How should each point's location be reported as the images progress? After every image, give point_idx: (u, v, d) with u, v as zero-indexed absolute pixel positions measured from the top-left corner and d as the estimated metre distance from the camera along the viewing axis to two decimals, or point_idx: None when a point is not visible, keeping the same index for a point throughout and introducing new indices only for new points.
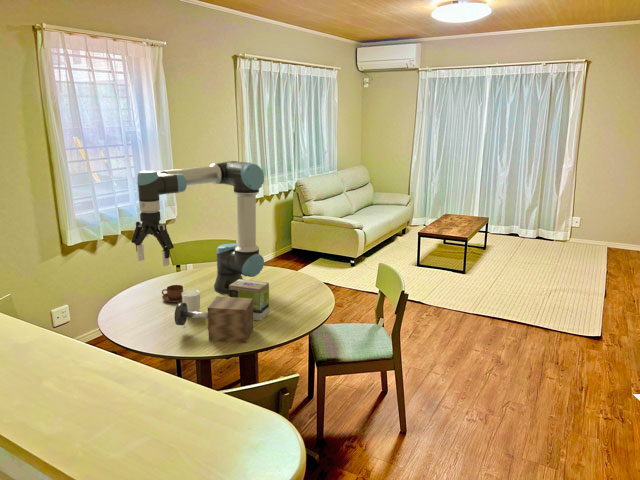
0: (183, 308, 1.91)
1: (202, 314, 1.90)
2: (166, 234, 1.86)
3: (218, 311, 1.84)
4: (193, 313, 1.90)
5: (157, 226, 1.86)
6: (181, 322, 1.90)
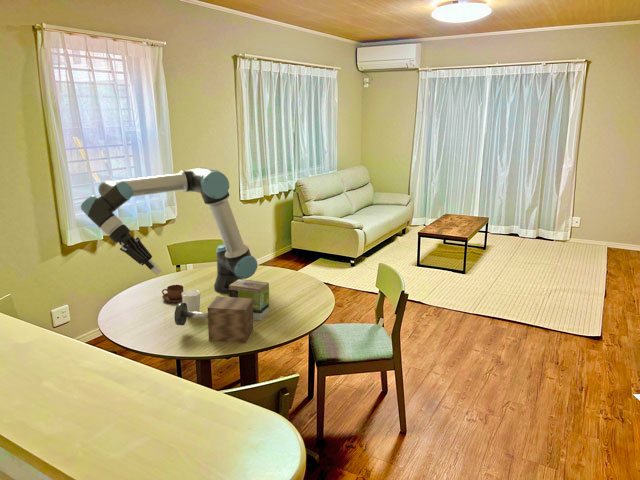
0: (183, 308, 1.91)
1: (202, 314, 1.90)
2: (130, 252, 1.83)
3: (218, 311, 1.84)
4: (193, 313, 1.90)
5: None
6: (181, 322, 1.90)
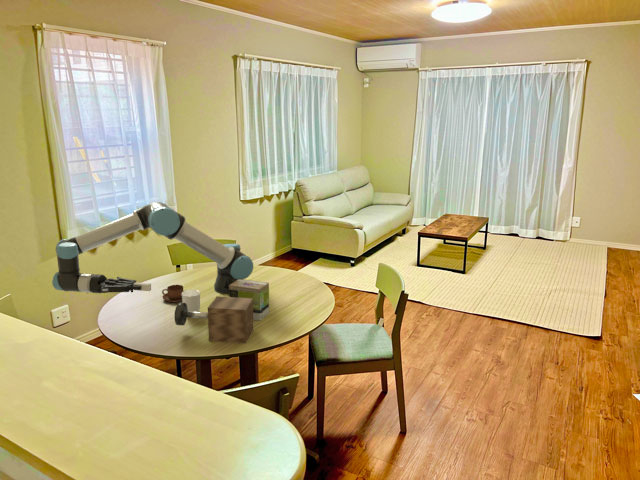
0: (183, 308, 1.91)
1: (202, 314, 1.90)
2: (113, 289, 1.86)
3: (218, 311, 1.84)
4: (193, 313, 1.90)
5: None
6: (181, 322, 1.90)
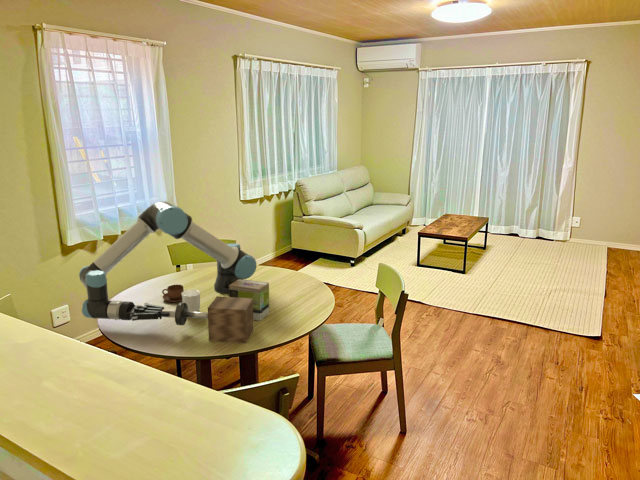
0: (183, 308, 1.91)
1: (202, 314, 1.90)
2: (142, 316, 1.88)
3: (218, 311, 1.84)
4: (193, 313, 1.90)
5: (132, 317, 1.90)
6: (181, 322, 1.90)
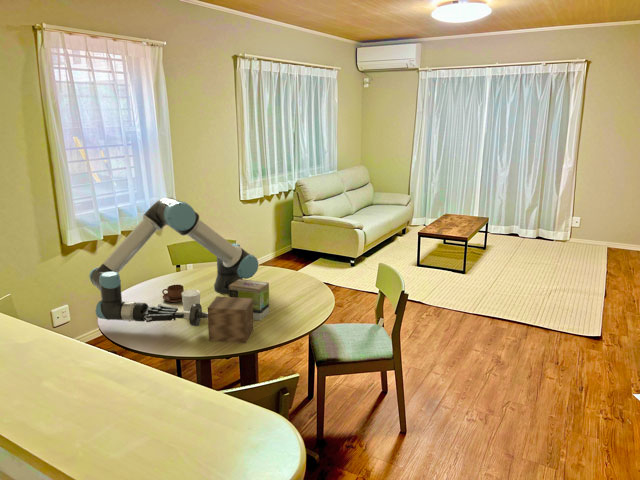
0: (197, 309, 1.91)
1: None
2: (156, 317, 1.88)
3: (218, 311, 1.84)
4: None
5: None
6: (196, 323, 1.89)
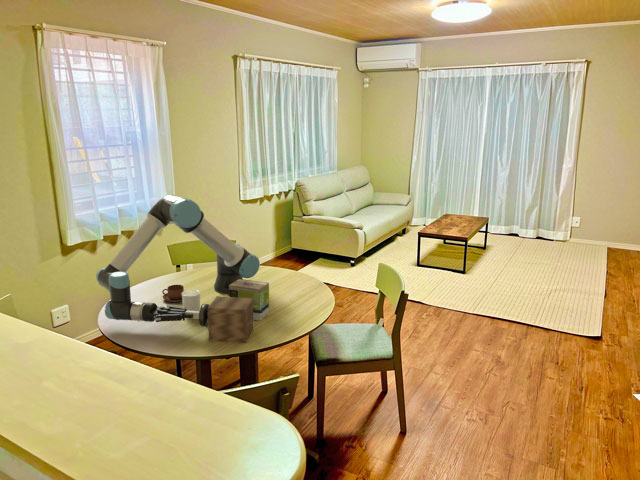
0: (207, 310, 1.90)
1: None
2: (166, 318, 1.88)
3: (218, 311, 1.84)
4: None
5: None
6: (205, 323, 1.89)
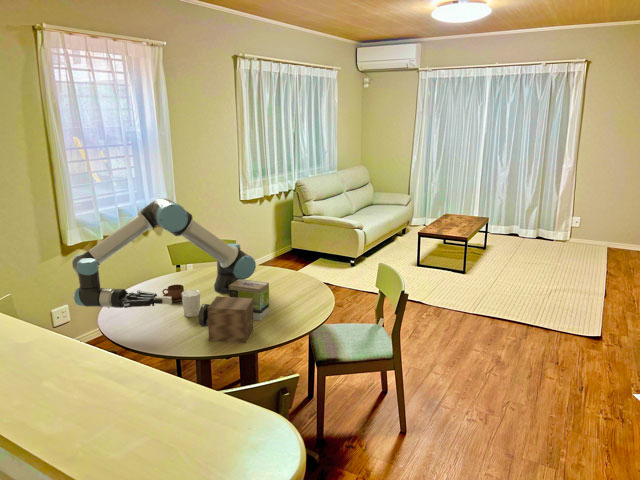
0: (207, 310, 1.90)
1: None
2: (134, 303, 1.87)
3: (218, 311, 1.84)
4: None
5: None
6: (205, 323, 1.89)
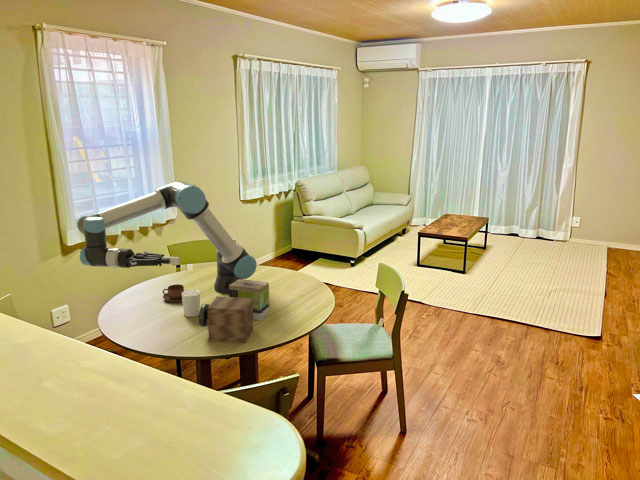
0: (207, 310, 1.90)
1: None
2: (141, 262, 1.84)
3: (218, 311, 1.84)
4: None
5: None
6: (205, 323, 1.89)
